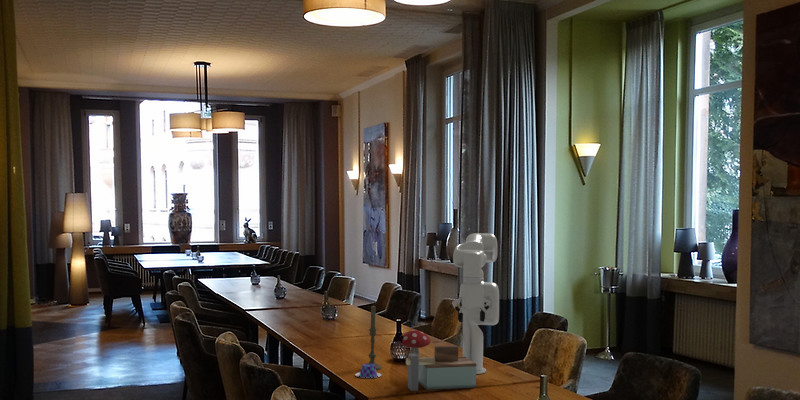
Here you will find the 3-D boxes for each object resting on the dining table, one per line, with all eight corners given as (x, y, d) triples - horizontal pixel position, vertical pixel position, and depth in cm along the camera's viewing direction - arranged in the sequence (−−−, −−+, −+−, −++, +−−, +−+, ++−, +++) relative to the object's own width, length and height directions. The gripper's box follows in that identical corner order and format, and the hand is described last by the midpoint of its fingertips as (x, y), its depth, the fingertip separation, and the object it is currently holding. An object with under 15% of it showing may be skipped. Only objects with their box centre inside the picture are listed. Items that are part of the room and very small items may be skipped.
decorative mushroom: (436, 360, 371) (437, 330, 371) (413, 364, 360) (413, 333, 360) (415, 355, 383) (415, 326, 383) (392, 358, 372) (392, 329, 372)
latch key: (405, 364, 313) (405, 358, 313) (432, 363, 316) (433, 357, 316) (407, 365, 310) (407, 359, 310) (434, 364, 313) (434, 358, 313)
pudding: (364, 380, 326) (365, 368, 326) (350, 375, 336) (350, 363, 336) (386, 377, 334) (387, 365, 334) (371, 372, 343) (371, 361, 343)
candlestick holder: (381, 366, 355) (382, 303, 355) (381, 370, 346) (383, 306, 346) (362, 365, 355) (363, 303, 355) (362, 370, 346) (363, 305, 346)
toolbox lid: (418, 363, 325) (418, 344, 325) (465, 361, 331) (465, 343, 331) (427, 370, 312) (427, 351, 312) (476, 368, 317) (476, 349, 317)
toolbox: (402, 382, 323) (402, 349, 323) (465, 379, 330) (465, 347, 331) (411, 390, 309) (411, 356, 309) (476, 387, 316) (477, 354, 316)
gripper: (487, 279, 317) (486, 319, 317) (449, 280, 312) (449, 320, 312) (494, 281, 310) (493, 322, 310) (456, 282, 305) (455, 323, 305)
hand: (471, 321), depth 311 cm, fingers open, 9 cm apart
